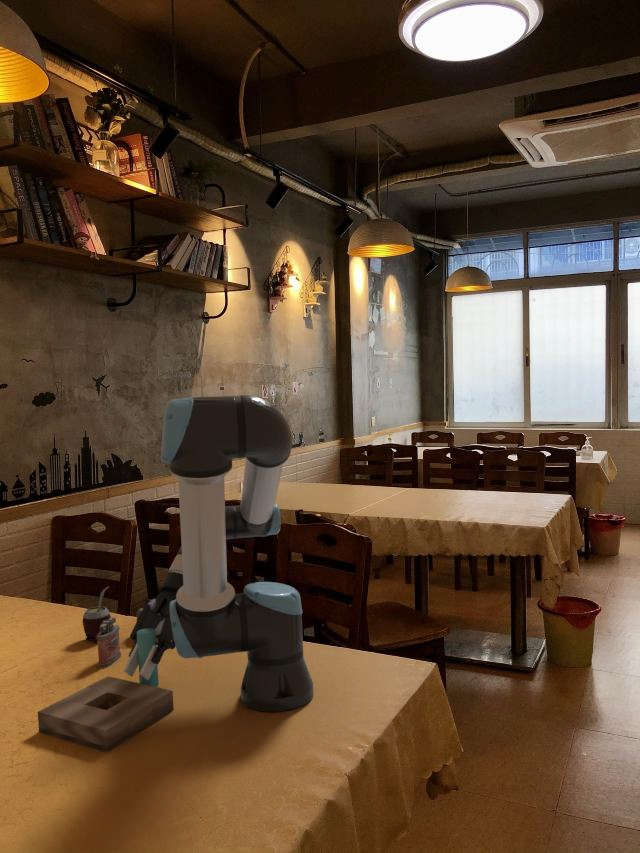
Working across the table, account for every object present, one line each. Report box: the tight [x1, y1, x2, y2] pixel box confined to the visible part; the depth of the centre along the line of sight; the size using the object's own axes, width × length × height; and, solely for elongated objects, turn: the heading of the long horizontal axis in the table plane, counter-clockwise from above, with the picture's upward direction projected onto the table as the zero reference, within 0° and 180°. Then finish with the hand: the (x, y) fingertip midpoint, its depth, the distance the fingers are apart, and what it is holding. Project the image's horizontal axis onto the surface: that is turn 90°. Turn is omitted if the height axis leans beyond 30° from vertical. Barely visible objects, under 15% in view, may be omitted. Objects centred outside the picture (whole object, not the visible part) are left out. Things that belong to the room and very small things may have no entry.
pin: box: [137, 628, 160, 687], centre depth 151 cm, size 4×4×12 cm
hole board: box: [37, 675, 175, 753], centre depth 137 cm, size 18×18×4 cm
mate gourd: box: [82, 585, 112, 644], centre depth 183 cm, size 8×8×15 cm
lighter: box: [97, 616, 122, 669], centre depth 168 cm, size 8×3×10 cm, turn 168°
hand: (135, 675), depth 148 cm, fingers closed on pin, 4 cm apart
